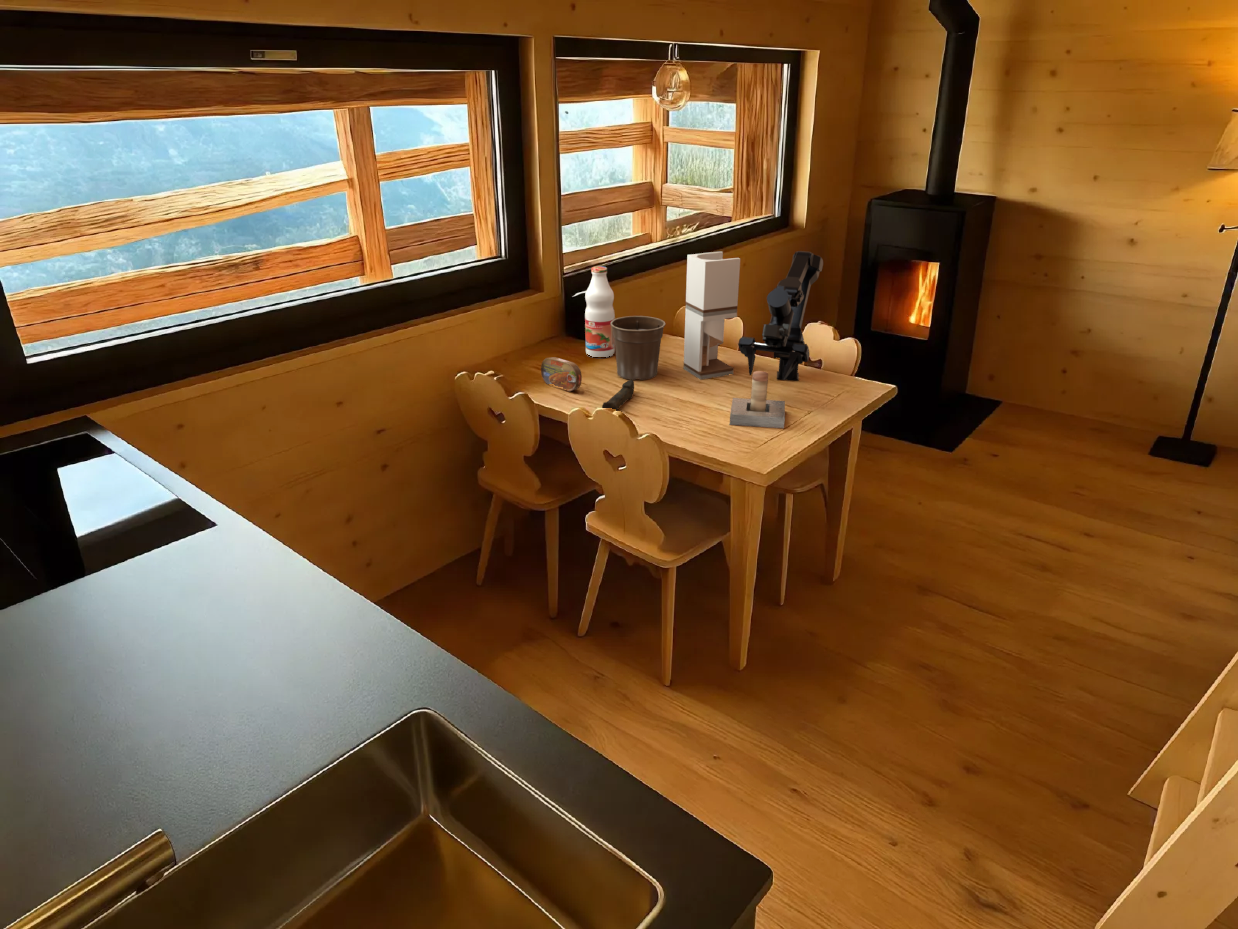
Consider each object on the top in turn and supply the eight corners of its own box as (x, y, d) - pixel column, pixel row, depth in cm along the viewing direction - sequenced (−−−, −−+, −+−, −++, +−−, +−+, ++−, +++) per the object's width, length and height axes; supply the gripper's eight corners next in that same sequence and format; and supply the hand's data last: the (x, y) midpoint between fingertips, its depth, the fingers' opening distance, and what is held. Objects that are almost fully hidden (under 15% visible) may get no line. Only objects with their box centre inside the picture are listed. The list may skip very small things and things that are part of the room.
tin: (540, 382, 250) (539, 355, 247) (548, 380, 252) (547, 353, 249) (576, 394, 241) (575, 366, 237) (583, 392, 243) (583, 364, 240)
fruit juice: (620, 353, 275) (620, 267, 263) (602, 360, 268) (601, 272, 256) (598, 347, 280) (597, 263, 268) (579, 354, 274) (577, 268, 262)
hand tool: (615, 417, 226) (615, 401, 224) (601, 414, 228) (601, 398, 226) (642, 394, 242) (642, 379, 240) (629, 392, 243) (629, 377, 241)
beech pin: (747, 415, 227) (750, 371, 221) (762, 414, 227) (765, 370, 222) (752, 421, 223) (755, 376, 218) (766, 420, 224) (770, 375, 218)
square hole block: (732, 407, 232) (732, 397, 230) (783, 411, 229) (784, 401, 228) (729, 424, 221) (730, 414, 220) (783, 428, 219) (784, 417, 217)
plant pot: (630, 362, 267) (630, 312, 260) (674, 371, 259) (675, 320, 252) (600, 376, 255) (599, 324, 248) (645, 387, 247) (645, 333, 240)
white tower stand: (700, 379, 252) (705, 261, 237) (683, 368, 261) (687, 254, 246) (733, 374, 257) (740, 258, 241) (715, 363, 265) (721, 251, 250)
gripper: (742, 307, 228) (728, 358, 223) (811, 314, 221) (798, 368, 217) (748, 327, 237) (734, 377, 233) (814, 335, 231) (802, 386, 227)
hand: (766, 377), depth 227 cm, fingers open, 9 cm apart
